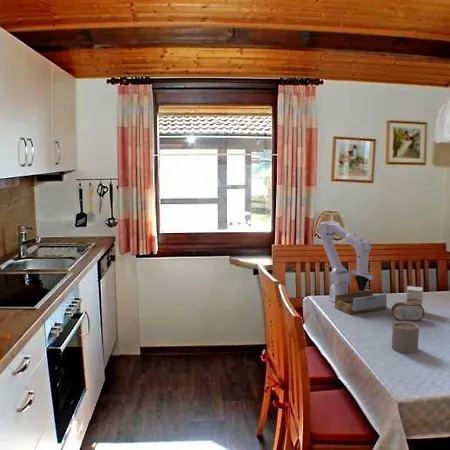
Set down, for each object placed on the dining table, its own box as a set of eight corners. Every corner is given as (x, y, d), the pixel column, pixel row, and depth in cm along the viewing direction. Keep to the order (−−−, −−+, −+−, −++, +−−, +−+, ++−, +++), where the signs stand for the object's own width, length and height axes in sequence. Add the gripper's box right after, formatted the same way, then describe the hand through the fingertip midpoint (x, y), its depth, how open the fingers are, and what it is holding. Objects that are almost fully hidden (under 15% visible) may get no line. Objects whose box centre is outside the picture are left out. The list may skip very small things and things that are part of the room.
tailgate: (352, 310, 247) (353, 298, 246) (384, 305, 255) (384, 293, 254) (355, 311, 246) (355, 299, 245) (386, 305, 254) (386, 294, 253)
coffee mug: (420, 354, 198) (422, 329, 196) (395, 353, 199) (396, 329, 197) (411, 341, 211) (412, 318, 210) (387, 340, 212) (388, 318, 211)
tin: (422, 319, 239) (423, 302, 238) (424, 321, 236) (425, 304, 235) (390, 318, 241) (391, 301, 240) (392, 320, 238) (392, 303, 237)
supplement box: (405, 314, 247) (406, 289, 246) (406, 309, 254) (407, 285, 252) (421, 315, 245) (422, 290, 243) (421, 311, 252) (422, 287, 250)
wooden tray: (334, 308, 257) (335, 294, 256) (370, 302, 267) (371, 289, 266) (349, 314, 247) (349, 300, 246) (386, 308, 257) (386, 295, 256)
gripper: (378, 266, 249) (377, 293, 251) (359, 260, 262) (358, 286, 264) (367, 267, 246) (366, 294, 248) (348, 262, 259) (347, 287, 261)
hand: (361, 290), depth 256 cm, fingers closed
